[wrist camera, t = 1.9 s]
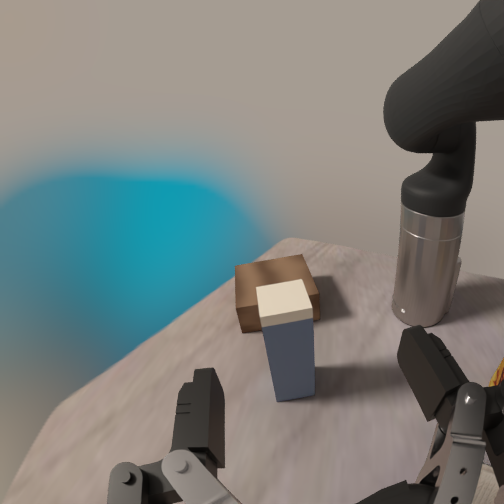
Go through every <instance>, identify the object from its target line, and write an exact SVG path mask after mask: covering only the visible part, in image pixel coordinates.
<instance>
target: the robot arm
mask: <svg viewBox="0 0 504 504" xmlns="http://www.w3.org/2000/svg"><path fill="white" fill-rule="evenodd" d="M383 113H384V123H385V126H386V129H387V132H388V134H389V136H390V137H391V139H392V140H393V141H394V142H395V143H396V144H397V145H398V146H399V147H401V148H403V149H404V150H406V151H410V152H415V153H433V156H432V159H431V161H430V162H429V163H428V164H427V165H426V166H425V167H424V168H423V169H421V170H420V171H419V172H416V173H414V174H412V175H410V176H408V177H407V178H406V179H405V180H404V181H403V183H402V188H401V219H400V237H399V250H398V260H397V270H396V278H395V286H394V294H393V301H392V310H393V312H394V314H395V315H396V317H397V318H398V319H400V320H401V321H402V322H404V323H406V324H408V325H411V326H413V327H410V328H407V329H404V330H403V332H402V336H401V341H400V345H399V349H398V353H397V359H398V363H399V366H400V368H401V369H402V371H403V373H404V375H405V377H406V379H407V381H408V383H409V385H410V387H411V389H412V391H413V393H414V395H415V397H416V399H417V401H418V403H419V405H420V407H421V409H422V411H423V413H424V415H425V417H426V420H427V422H428V421H430V420H433V419H435V418H436V420H437V422H438V423H437V425H436V428H435V432H434V436H433V439H432V443H431V446H430V449H429V453H428V456H427V459H426V462H425V464H424V466H423V467H422V469H421V471H420V473H419V475H418V477H417V479H416V482H415V483H413V484H407V481H406V480H405V481H402V482H400V483H397V484H395V485H392V486H389V487H387V488H384V489H381V490H379V491H378V492H376V493H374V494H372V495H371V496H369V497H367V498H365V499H364V500H362V501H360V502H358V503H356V504H472V502H473V499H474V495H475V492H476V488H477V485H478V481H479V477H480V473H481V469H482V464H483V459H484V454H485V450H486V452H487V455H488V458H489V460H490V463H491V466H492V468H493V471H494V474H495V477H496V480H497V483H498V486H499V490H498V492H497V495H496V497H495V499H494V504H504V379H503V380H502V382H501V383H500V385H495V386H490V387H482V386H481V385H479V384H477V383H474V382H469V380H468V379H467V378H466V376H465V375H464V373H463V371H462V370H461V368H460V367H459V365H458V364H457V362H456V361H455V359H454V358H453V356H451V353H450V352H449V350H448V349H446V346H445V345H444V343H443V342H442V340H441V339H440V338H438V337H437V336H435V335H434V334H433V333H429V334H427V332H426V331H425V330H424V328H423V327H428V326H432V325H434V324H436V323H438V322H439V321H440V320H441V319H442V317H443V315H444V314H445V313H447V312H449V309H450V306H451V302H452V299H453V295H454V291H455V288H456V284H457V280H458V275H459V271H460V267H461V259H460V258H459V257H458V255H459V249H460V244H461V237H462V230H463V223H464V215H465V207H466V201H467V198H468V196H469V194H470V191H471V188H472V184H473V176H474V164H475V150H476V122H477V121H492V120H493V121H494V120H504V0H480V1H479V2H478V3H477V5H476V6H475V7H474V8H473V10H472V11H471V12H470V13H469V14H468V16H467V17H466V18H465V19H464V20H463V21H462V22H461V23H460V24H459V25H458V26H457V27H455V28H454V29H453V30H452V31H451V32H450V33H449V34H448V35H447V37H445V38H444V39H443V40H442V41H441V42H440V44H438V45H437V46H436V47H435V48H434V49H433V50H432V51H431V52H430V53H429V54H428V55H427V56H425V57H424V58H423V59H422V60H421V61H419V62H418V63H417V64H415V65H414V66H413V67H411V68H410V69H409V70H407V71H406V72H405V73H404V74H402V75H401V76H400V77H398V78H397V80H395V81H394V82H393V84H392V85H391V87H390V88H389V90H388V92H387V95H386V98H385V102H384V111H383ZM217 468H225V399H224V392H223V388H222V386H221V384H220V381H219V379H218V376H217V374H216V372H215V369H214V368H203V369H195V371H194V377H193V382H188V383H184V385H183V386H182V388H181V390H180V391H179V393H178V400H177V407H176V415H175V423H174V431H173V439H172V447H171V450H170V452H169V453H168V454H167V455H166V456H165V458H164V459H162V460H160V461H158V462H155V463H151V464H147V465H142V466H136V465H135V464H133V463H130V462H122V463H119V464H117V465H116V466H115V467H114V468H113V469H112V471H111V473H110V479H109V488H108V497H107V504H172V503H177V502H181V501H184V502H185V503H186V504H242V503H241V502H240V501H239V500H238V499H237V498H236V497H235V496H234V495H233V494H232V493H231V492H230V491H229V490H228V489H227V488H226V487H225V486H224V485H223V484H222V483H221V482H220V481H219V480H218V479H217Z"/></svg>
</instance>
